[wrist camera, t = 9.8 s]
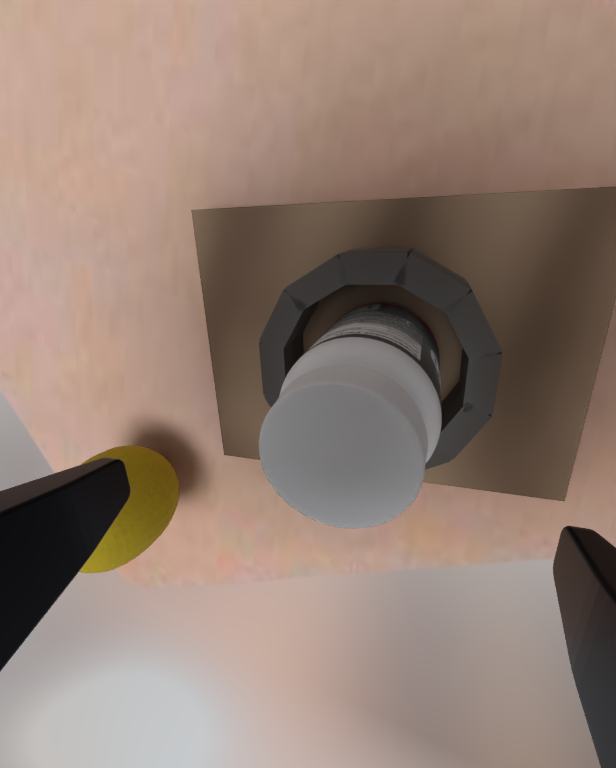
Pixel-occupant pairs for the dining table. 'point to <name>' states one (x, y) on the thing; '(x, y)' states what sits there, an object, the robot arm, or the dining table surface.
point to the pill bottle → (357, 419)
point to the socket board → (426, 315)
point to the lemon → (137, 508)
